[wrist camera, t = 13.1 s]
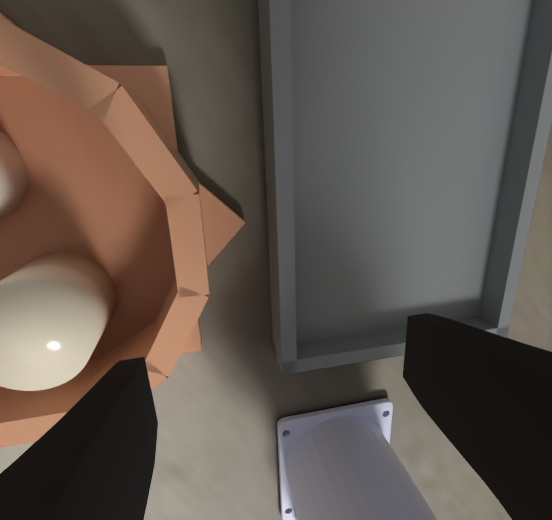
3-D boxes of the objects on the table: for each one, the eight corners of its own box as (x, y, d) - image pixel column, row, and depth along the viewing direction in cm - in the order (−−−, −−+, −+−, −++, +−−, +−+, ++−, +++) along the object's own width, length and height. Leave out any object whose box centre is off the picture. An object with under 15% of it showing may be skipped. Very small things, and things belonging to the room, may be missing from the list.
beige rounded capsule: (124, 330, 17) (103, 380, 14) (27, 343, 16) (-23, 399, 13) (107, 247, 16) (79, 278, 12) (1, 256, 15) (-64, 292, 11)
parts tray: (475, 318, 23) (506, 338, 21) (273, 349, 20) (282, 375, 18) (537, -46, 17) (593, -78, 14) (254, -70, 14) (265, -112, 12)
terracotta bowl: (254, 377, 21) (268, 434, 17) (-129, 439, 17) (-235, 533, 13) (228, -6, 15) (240, -68, 10) (-381, -33, 11) (-743, -146, 7)
